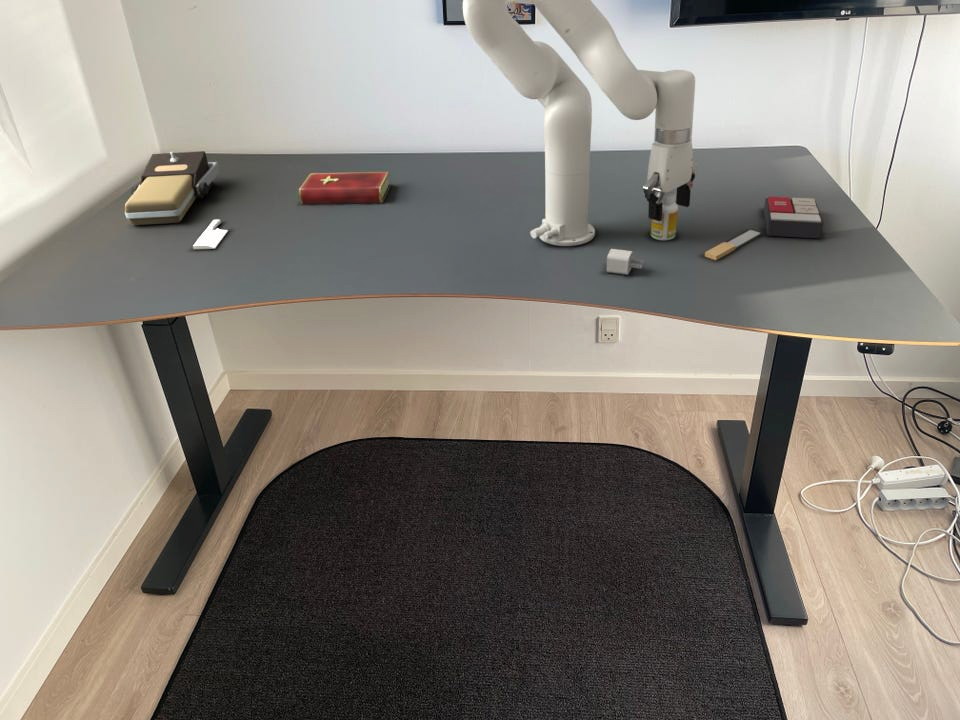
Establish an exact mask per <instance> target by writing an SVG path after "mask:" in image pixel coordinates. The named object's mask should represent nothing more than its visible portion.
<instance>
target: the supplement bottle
mask: <svg viewBox="0 0 960 720" xmlns="http://www.w3.org/2000/svg"><path fill="white" fill-rule="evenodd" d="M658 195H659V192H657V194H656V197H658ZM676 195H677V193H676V192H674V191H669V192H667V193H665V194H664V196H663V198H662V200H661V203H663V208H662V220H661V221H656V220H653V219H651V224H650V225H651V226H650V236H651V238H653V239H654V240H658V241H670V240H673V239H674V238H675V237H676V235H677V234H676V232H677V225H678V223H677V222H678V214H679V205H677V204H676Z"/></svg>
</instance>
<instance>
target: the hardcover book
mask: <svg viewBox="0 0 960 720" xmlns="http://www.w3.org/2000/svg"><path fill="white" fill-rule="evenodd" d="M389 174H390V172H389V171H364V172H363V171H362V172H361V171H360V172H358V171H357V172H314V173H313V172H311V173H309V175H308V176H307V177H306V179H305V180H304V181H303V182H302V184H301V186H300V187H299V188H298V197H299V202H300V204H301V205H329V204H330V205H332V204H333V205H339V204H341V205H342V204H383V202H384V201H385V198H386V197H387V194H388V193H389V190H390V188H391V184H389V177H388V176H389Z"/></svg>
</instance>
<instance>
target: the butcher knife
mask: <svg viewBox="0 0 960 720" xmlns="http://www.w3.org/2000/svg"><path fill="white" fill-rule="evenodd" d="M221 222H222V221H221V219H213V220H211V222H210V223H209V225H208V226H207V228H206V229H205V230H204V231H203V232H202V234H201V235H200V236H199V237H198V238H197V239H196V241H195V242H194V244H193V245H192V249H193V250H212V249H213V250H214V249H216V248H217V247H218V245H219V244H220V243H221V241H222V240H223V239H224V237H225V236H226V234H227V233H228V232H229V230H228V229H220V228H218V226H219V225H220V224H221Z"/></svg>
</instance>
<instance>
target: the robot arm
mask: <svg viewBox="0 0 960 720" xmlns="http://www.w3.org/2000/svg"><path fill="white" fill-rule="evenodd" d="M508 3H512V4H524V5H534V6H535V9H537V10H538V12H539V13H540V14H541V16H543V18H544V19H545V20H546V21H547V23H548V24H549V25H550V26H551V27H552V29H554V31H555V32H556V33H557V34H558V35H559V37H560V38H561V39H562V40H563V42H564V43H565V44H566V45H567V47H569V49H570V50H571V51H572V53H573V54H574V55H575V56H576V58H577V59H578V61H579V62H580V63H581V65H582V66H583V67H584V69H585V70H586V72H587V73H588V74H589V75H590V76H591V78H592V79H593V80H594V82H595V84H596V85H597V86H598V87H599V88H600V90H601V91H602V93H603V94H604V95H605V96H606V98H608V100H609V101H610V102H611V103H612V104H613V106H614V107H615V108H616V109H617V110H618V111H619V112H620V114H621V115H623V116H624V117H625V118H627V119H629V120H632V121H641V120H644V119H647V118H648V117H650V116H651V115H652V114H653V113H654V112H655V116H654V136H653V137H654V138H653V143H652V145H651V148H650V154H649V159H648V165H647V166H648V167H647V178H646V179H647V180H646V183H645V184H644V185H643V186H642V191H643V193H644V198H645V199H646V201H647V202H648V214H647V216H648V219H649V220H652V219H653V220H656V221H661V220H662V208H663V203H661V200H662V198H663V196H664V194H665V193H667V192H669V191H670V192H672V191H673V190H675V189H676V200H675V203H676V204H677V205H678V206H681V207H684V208H688V207H690V204H691V189H692V188H693V185H694V184H693V182H694V180H695V179H696V173H697V169H698V168H699V167H698V164H697V163H695V162H694V160H693V159H694V155H693V154H694V153H693V140H692V139H693V124H694V123H693V122H694V121H693V120H694V109H695V92H696V77H695V74H694V73H693V72H692V71H689V70H686V69H672V70H670V69H669V70H666V71H657V70H647V69H646V70H645V69H638V68H637V67H636V65H635V64H634V63H633V61H631V59H630V57H628V55H627V53H626V52H625V50H624V48H623V47H622V45H621V43H620V42H619V39H618V37H617V35H616V33H615V30H614V29H613V26H612V25H611V23H610V22H609V20H608V19H607V18H606V17H605V15H604V14H603V13H602V12H601V11H600V9H599V8H598V7H597V6H596V5H595V4H594V3H593V1H592V0H462V15H463V19H464V24H465V26H466V29H467V30H468V32H469V35H470V36H471V38H472V39H473V41H474V42H475V43H476V44H477V45H478V46H479V48H480V49H481V51H483V53H484V54H486V56H487V57H488V58H489V59H490V61H491V62H492V63H493V64H494V65H495V67H496V68H497V69H498V70H499V71H500V73H501V74H502V75H503V76H504V77H505V78H506V79H507V81H509V83H510V84H511V85H512V86H513V88H515V90H516V91H517V93H519V94H520V95H521V96H523V97H524V98H526V99H530V100H537V101H538V102H539V103H540V104H541V105H542V107H543V108H545V111H544V117H543V118H544V119H543V131H544V161H545V162H544V169H545V172H544V173H545V174H544V175H545V176H544V177H545V178H544V179H545V180H544V181H545V186H544V187H545V188H544V190H545V191H544V193H545V198H544V199H545V202H544V204H545V206H544V207H545V210H544V211H545V213H544V217H545V218H542V220H541V224H540V225H539V227H536V228H534V229H532V230H530V232H529V234H530V237H531V238H532V239H537V238H539V239H540V240H541V241H542V242H544V243H546V244H549V245H552V246H558V247H574V246H575V247H576V246H580V245H583V244H586V243H589V242H590V241H592V240H593V239H594V238H595V235H596V229H595V228H594V226H593V225H592V224H590V223H589V207H590V176H591V174H590V173H591V140H592V139H591V138H592V126H593V107H592V104H593V103H592V96H591V94H590V91H589V89H588V87H587V86H586V85H585V84H584V83H583V81H582V80H581V79H580V78H579V76H577V74H576V73H575V72H574V71H573V70H572V69H571V67H570V66H569V65H568V64H567V63H566V61H565V60H564V59H563V58H562V56H561V55H560V54H559V53H558V51H556V50H555V49H554V48H553V47H552V46H550V45H549V44H547V43H546V42H543V41H538V40H533V39H532V38H531V37H530V36H529V35H528V34H527V32H526V31H525V30H524V28H523V27H522V26H521V25H520V24H519V22H517V21H516V19H514V18H513V17H512V15H511V14H510V13H509V12H510V11H509V10H508ZM656 193H659V195H658V197H657V194H656Z"/></svg>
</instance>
